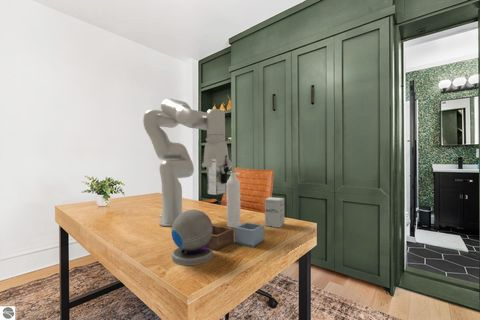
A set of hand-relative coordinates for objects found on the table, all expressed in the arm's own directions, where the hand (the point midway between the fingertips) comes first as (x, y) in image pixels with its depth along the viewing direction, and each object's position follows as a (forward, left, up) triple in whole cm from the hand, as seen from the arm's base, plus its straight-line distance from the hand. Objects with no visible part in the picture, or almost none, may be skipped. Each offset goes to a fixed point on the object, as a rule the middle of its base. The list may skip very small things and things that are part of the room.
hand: (216, 182), depth 97 cm
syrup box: (0, 0, -5) cm, 5 cm away
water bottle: (-2, +16, -22) cm, 27 cm away
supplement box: (+14, +26, -22) cm, 36 cm away
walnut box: (+6, -8, -22) cm, 24 cm away
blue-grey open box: (+16, 0, -22) cm, 27 cm away
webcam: (+7, -21, -22) cm, 31 cm away
